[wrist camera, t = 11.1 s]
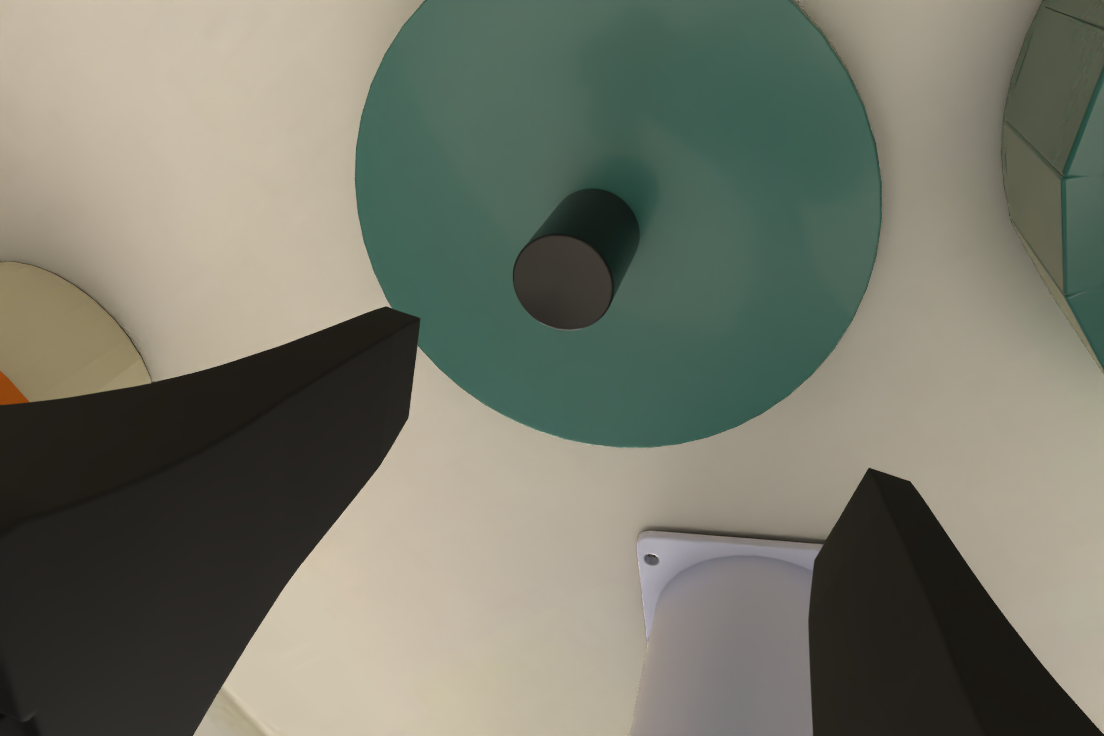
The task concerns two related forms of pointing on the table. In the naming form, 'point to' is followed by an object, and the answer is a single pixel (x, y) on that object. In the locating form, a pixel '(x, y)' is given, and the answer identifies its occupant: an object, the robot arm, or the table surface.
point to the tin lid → (620, 207)
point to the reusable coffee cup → (58, 340)
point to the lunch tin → (1061, 159)
